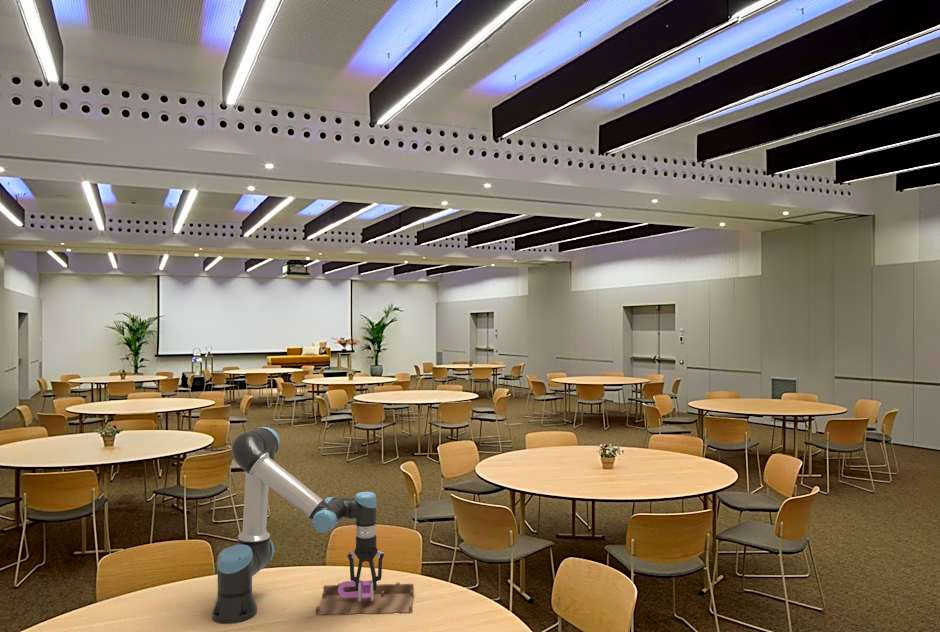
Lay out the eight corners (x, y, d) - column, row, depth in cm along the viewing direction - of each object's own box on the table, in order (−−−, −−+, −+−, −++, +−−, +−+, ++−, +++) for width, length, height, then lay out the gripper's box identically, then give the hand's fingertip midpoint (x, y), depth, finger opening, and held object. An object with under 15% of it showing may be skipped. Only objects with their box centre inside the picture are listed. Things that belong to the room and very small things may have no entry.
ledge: (315, 617, 233) (315, 603, 233) (324, 596, 250) (324, 583, 250) (411, 615, 234) (411, 601, 234) (413, 595, 251) (413, 582, 251)
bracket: (373, 580, 246) (370, 580, 240) (373, 596, 244) (369, 597, 237) (339, 581, 246) (335, 581, 240) (338, 597, 244) (334, 598, 238)
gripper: (341, 539, 237) (341, 604, 237) (388, 538, 238) (388, 603, 238) (344, 532, 244) (344, 595, 244) (389, 531, 245) (389, 594, 245)
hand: (366, 599), depth 241 cm, fingers closed on bracket, 4 cm apart
